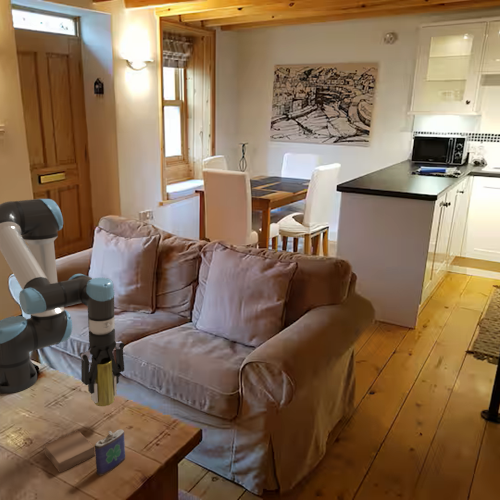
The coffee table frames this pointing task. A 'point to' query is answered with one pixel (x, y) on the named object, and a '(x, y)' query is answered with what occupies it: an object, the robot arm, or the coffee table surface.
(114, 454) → the flask
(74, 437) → the plinth
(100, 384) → the vase
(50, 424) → the coffee table surface
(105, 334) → the robot arm
